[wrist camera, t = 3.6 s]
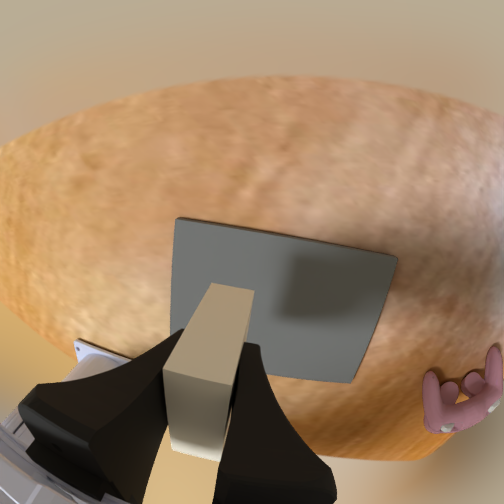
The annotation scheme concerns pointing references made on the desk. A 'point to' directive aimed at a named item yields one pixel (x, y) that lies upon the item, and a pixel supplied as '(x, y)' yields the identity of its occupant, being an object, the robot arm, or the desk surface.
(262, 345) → the mat
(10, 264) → the desk surface
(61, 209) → the desk surface
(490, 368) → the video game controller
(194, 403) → the block
